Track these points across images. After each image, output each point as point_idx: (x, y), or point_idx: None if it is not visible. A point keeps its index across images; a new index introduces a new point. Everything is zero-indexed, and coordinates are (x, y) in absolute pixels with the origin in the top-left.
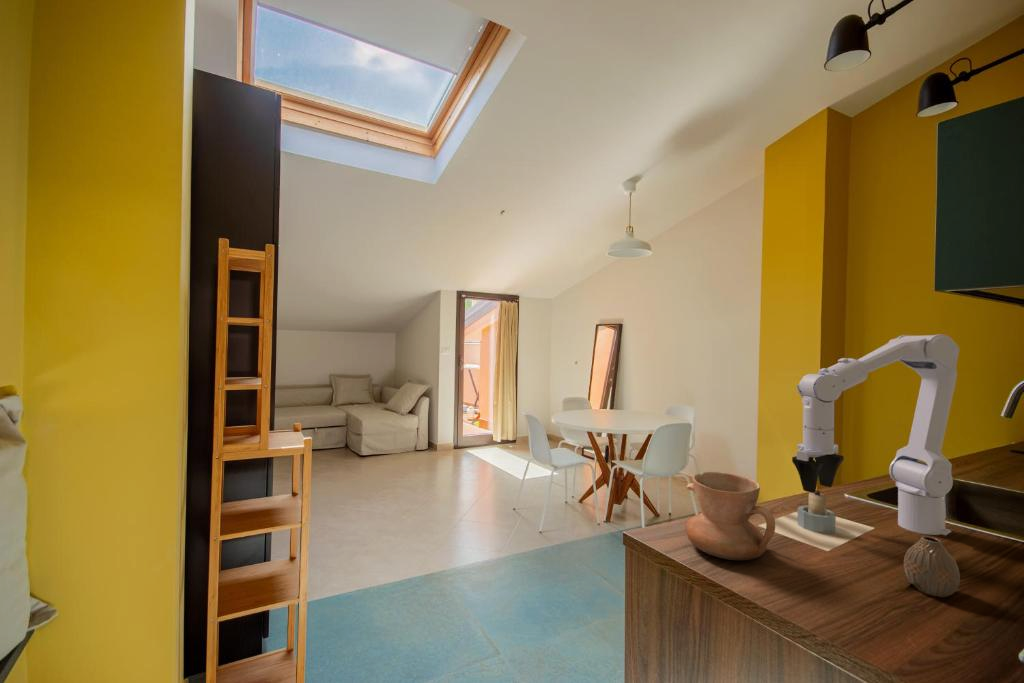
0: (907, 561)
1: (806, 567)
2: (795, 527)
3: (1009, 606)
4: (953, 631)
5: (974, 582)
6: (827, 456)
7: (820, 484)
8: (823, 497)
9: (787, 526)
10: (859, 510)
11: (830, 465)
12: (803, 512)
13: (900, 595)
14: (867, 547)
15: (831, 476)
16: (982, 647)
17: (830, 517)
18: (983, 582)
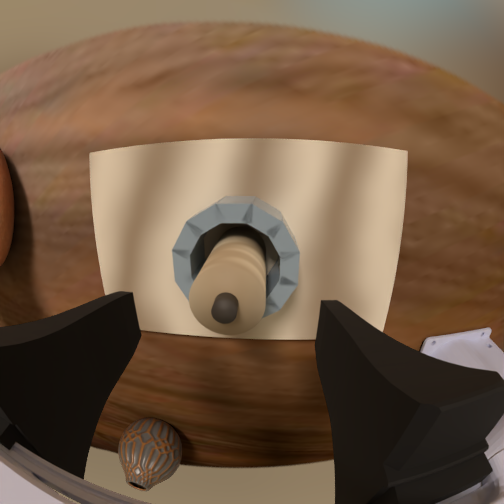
0: (121, 440)
1: (49, 311)
2: (173, 216)
3: (208, 465)
4: (95, 431)
5: (248, 451)
6: (360, 499)
7: (321, 302)
8: (215, 331)
9: (158, 198)
10: (500, 246)
11: (343, 448)
12: (173, 247)
13: (107, 406)
14: (245, 356)
15: (325, 394)
16: (96, 440)
17: None
18: (260, 455)
